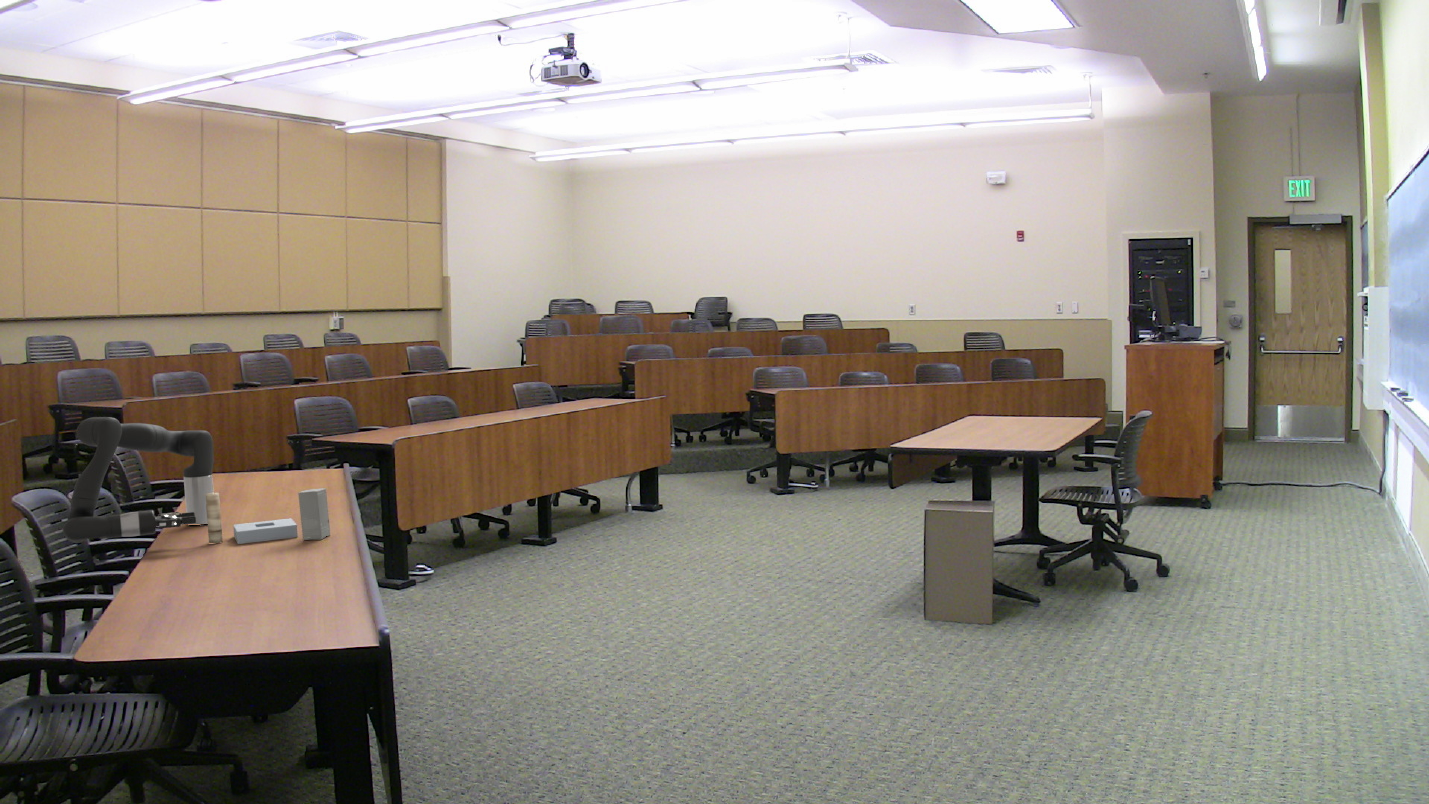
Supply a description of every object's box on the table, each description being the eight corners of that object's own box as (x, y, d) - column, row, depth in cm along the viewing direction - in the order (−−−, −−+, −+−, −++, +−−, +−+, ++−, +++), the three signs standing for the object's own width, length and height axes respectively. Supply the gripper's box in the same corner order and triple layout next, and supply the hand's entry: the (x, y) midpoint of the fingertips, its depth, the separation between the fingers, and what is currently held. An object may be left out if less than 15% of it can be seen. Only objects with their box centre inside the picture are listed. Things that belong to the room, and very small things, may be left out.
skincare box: (321, 540, 347) (318, 491, 345) (299, 540, 347) (296, 492, 345) (331, 534, 355) (328, 487, 354) (310, 535, 355) (307, 487, 354)
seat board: (234, 536, 357) (233, 524, 356) (291, 529, 365) (291, 518, 365) (237, 544, 344) (237, 531, 344) (297, 536, 353) (296, 524, 353)
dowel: (208, 542, 349) (204, 493, 347) (222, 540, 351) (218, 492, 349) (209, 544, 345) (205, 495, 344) (223, 543, 347) (219, 493, 346)
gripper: (136, 515, 330) (195, 509, 338) (136, 508, 343) (193, 502, 350) (138, 539, 331) (197, 532, 339) (138, 531, 343) (195, 525, 351)
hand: (195, 517), depth 344 cm, fingers open, 8 cm apart
